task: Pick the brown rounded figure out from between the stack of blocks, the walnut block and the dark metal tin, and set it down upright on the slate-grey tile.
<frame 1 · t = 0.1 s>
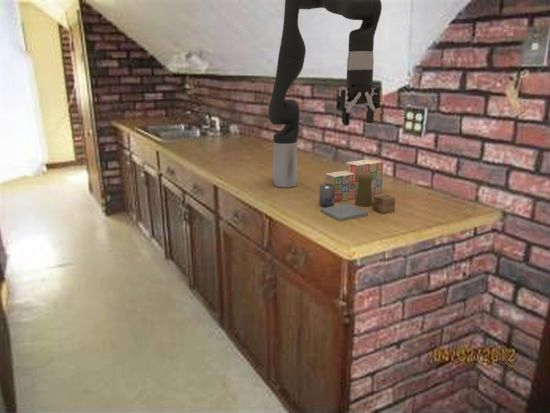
hand: (357, 124, 142), 29 cm above the worktop, tool pointing down, fingers open, 8 cm apart
slate tile: (343, 213, 153), on the worktop
stack of blocks: (353, 196, 173), on the worktop
brown rounded figure: (363, 204, 163), on the worktop
metal tin: (326, 205, 162), on the worktop
walnut block: (383, 210, 156), on the worktop
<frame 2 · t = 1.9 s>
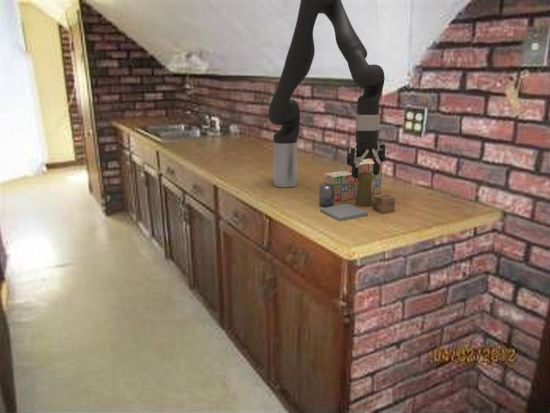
hand: (365, 176, 159), 10 cm above the worktop, tool pointing down, fingers open, 8 cm apart
nothing on the worktop moved.
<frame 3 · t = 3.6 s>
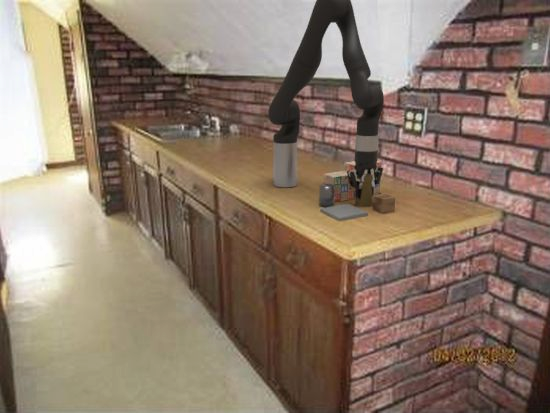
hand: (364, 197, 162), 2 cm above the worktop, tool pointing down, fingers closed on brown rounded figure, 4 cm apart
brown rounded figure: (363, 204, 163), on the worktop, touching gripper
everything else where it was.
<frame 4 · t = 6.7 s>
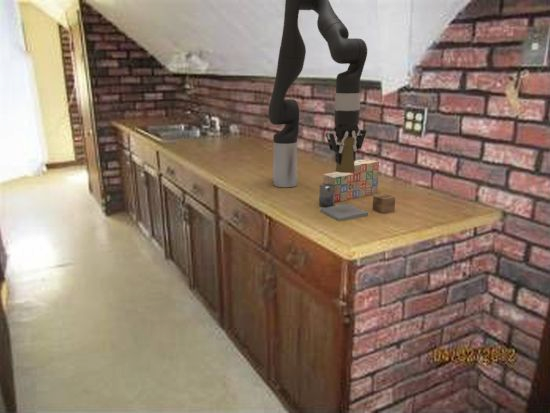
hand: (345, 163, 148), 17 cm above the worktop, tool pointing down, fingers closed on brown rounded figure, 4 cm apart
brown rounded figure: (345, 171, 149), point 14 cm above the worktop, touching gripper
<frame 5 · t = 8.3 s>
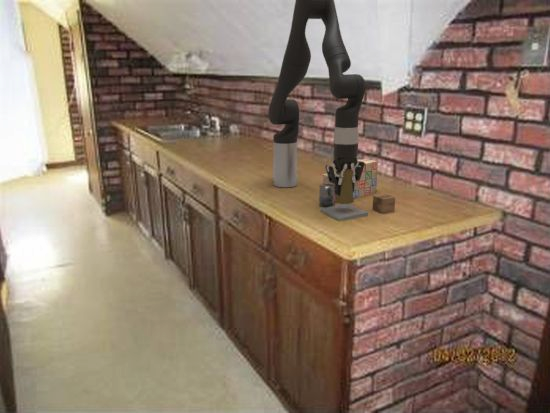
hand: (344, 194, 151), 6 cm above the worktop, tool pointing down, fingers closed on brown rounded figure, 4 cm apart
brown rounded figure: (344, 201, 152), point 4 cm above the worktop, touching gripper
when the fingers open (5 cm above the worktop, at t = 9.6 s): brown rounded figure stays where it is, resting on slate tile.
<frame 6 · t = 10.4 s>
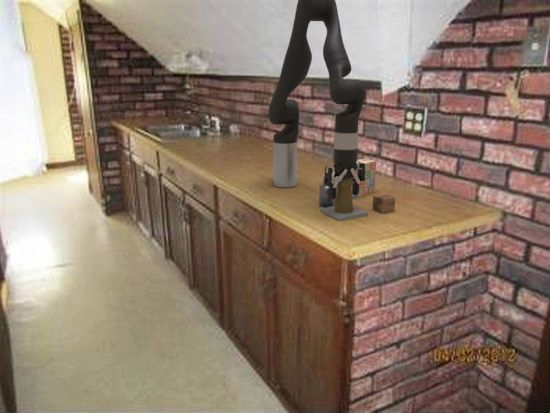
hand: (344, 196, 151), 6 cm above the worktop, tool pointing down, fingers open, 8 cm apart
brown rounded figure: (343, 210, 153), point 1 cm above the worktop, touching slate tile
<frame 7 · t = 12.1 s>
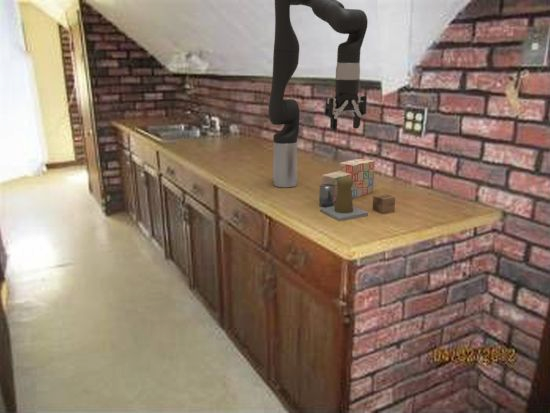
hand: (344, 129, 154), 26 cm above the worktop, tool pointing down, fingers open, 8 cm apart
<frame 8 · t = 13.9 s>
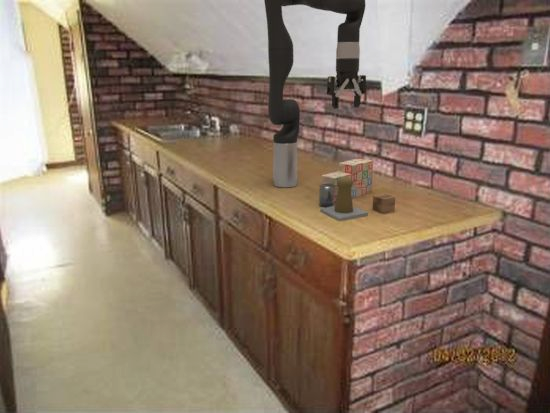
hand: (346, 107, 158), 32 cm above the worktop, tool pointing down, fingers open, 8 cm apart
at the end: brown rounded figure inside the target area on the slate tile (0.1 cm from its centre), point 0.8 cm above the slate tile's base; brown rounded figure tilted 0°; the gripper is holding nothing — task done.
